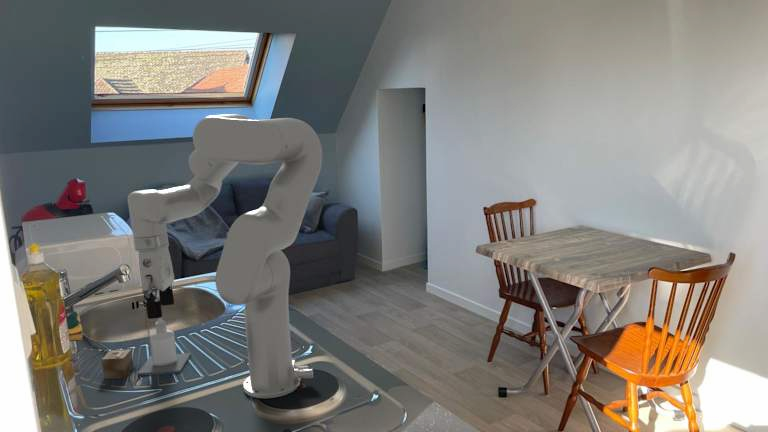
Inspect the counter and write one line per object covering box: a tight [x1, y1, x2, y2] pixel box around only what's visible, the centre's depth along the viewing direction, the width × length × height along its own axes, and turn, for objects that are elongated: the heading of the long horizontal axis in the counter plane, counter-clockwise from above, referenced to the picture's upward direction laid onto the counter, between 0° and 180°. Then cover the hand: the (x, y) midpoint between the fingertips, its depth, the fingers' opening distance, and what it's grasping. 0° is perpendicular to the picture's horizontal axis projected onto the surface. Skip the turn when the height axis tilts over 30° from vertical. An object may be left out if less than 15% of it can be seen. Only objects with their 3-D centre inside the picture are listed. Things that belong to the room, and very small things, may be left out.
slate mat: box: [136, 352, 192, 376], centre depth 144 cm, size 10×10×1 cm
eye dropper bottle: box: [149, 316, 178, 366], centre depth 142 cm, size 4×6×12 cm
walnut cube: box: [101, 349, 134, 380], centre depth 140 cm, size 5×5×5 cm
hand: (161, 311), depth 141 cm, fingers open, 9 cm apart
